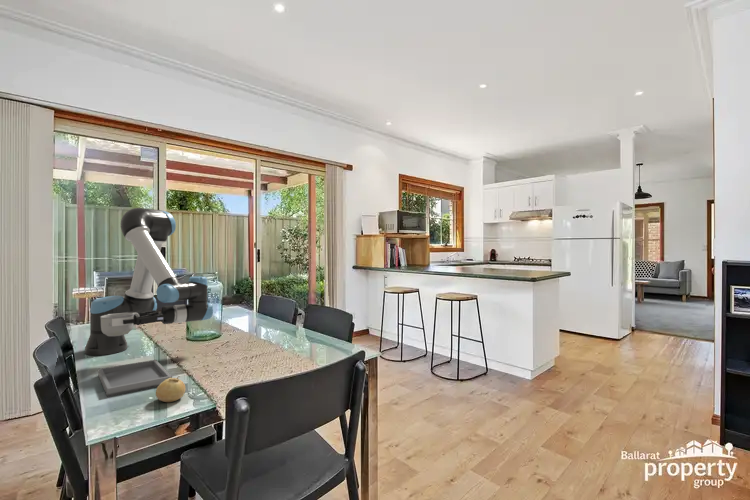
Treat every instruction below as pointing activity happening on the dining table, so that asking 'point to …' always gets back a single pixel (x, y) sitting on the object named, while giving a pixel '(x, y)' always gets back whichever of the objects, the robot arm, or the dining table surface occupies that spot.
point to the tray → (132, 377)
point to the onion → (170, 390)
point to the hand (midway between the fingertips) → (109, 320)
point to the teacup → (116, 330)
